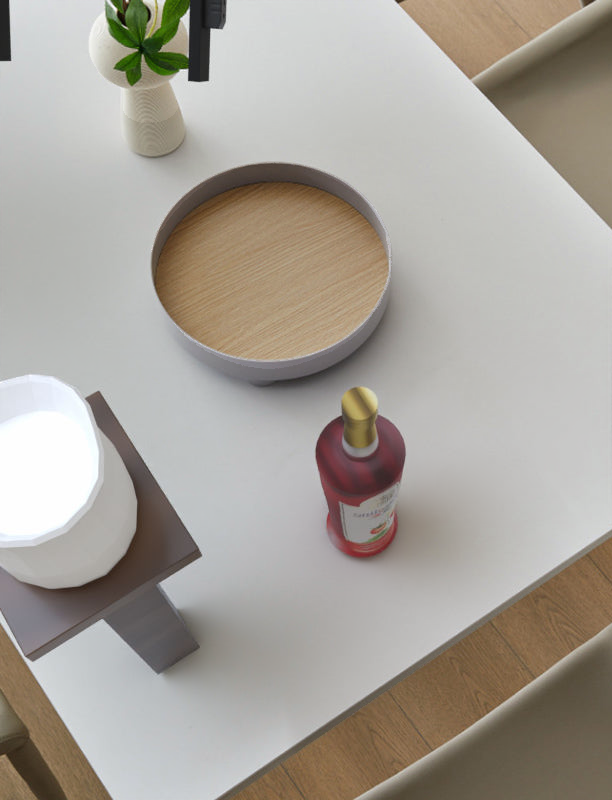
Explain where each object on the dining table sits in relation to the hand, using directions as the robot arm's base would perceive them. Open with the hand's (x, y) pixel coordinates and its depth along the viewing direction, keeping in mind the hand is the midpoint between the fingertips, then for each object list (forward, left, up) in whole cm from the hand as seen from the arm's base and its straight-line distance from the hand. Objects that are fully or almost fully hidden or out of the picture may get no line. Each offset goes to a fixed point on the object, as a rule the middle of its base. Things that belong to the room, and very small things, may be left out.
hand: (97, 71), depth 68 cm
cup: (+23, -16, -8) cm, 30 cm away
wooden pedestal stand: (+23, -16, -43) cm, 51 cm away
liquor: (+24, +5, -43) cm, 49 cm away
